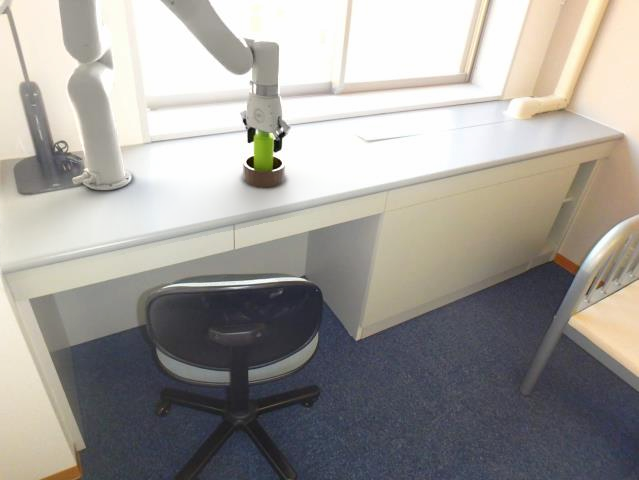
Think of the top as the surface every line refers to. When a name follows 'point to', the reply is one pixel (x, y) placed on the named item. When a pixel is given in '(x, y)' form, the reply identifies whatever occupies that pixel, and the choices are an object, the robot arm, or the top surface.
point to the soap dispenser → (263, 151)
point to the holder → (263, 173)
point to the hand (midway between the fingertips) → (264, 146)
